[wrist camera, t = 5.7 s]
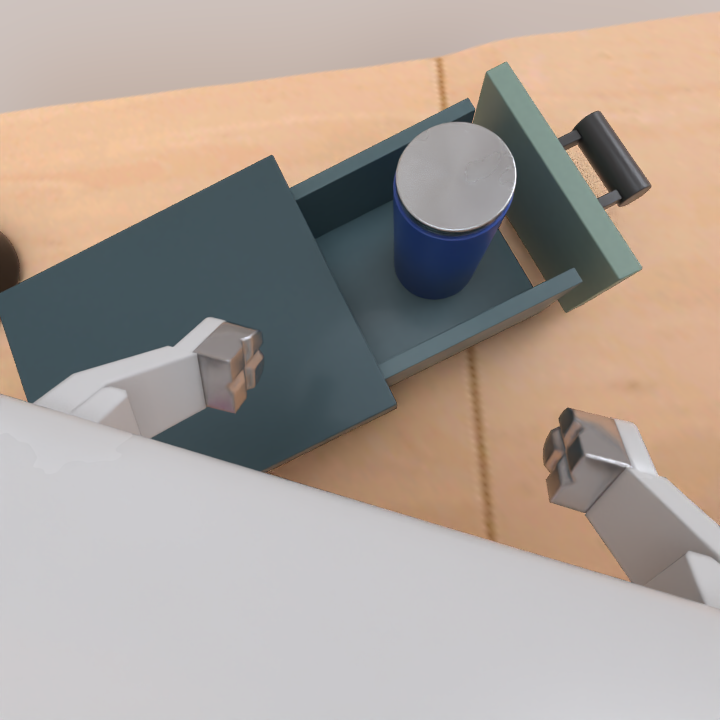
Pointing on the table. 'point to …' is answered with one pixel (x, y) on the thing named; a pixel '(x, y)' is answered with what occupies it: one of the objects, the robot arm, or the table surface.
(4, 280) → the ink bottle
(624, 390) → the table surface
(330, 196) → the drawer
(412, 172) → the can
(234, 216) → the cabinet
